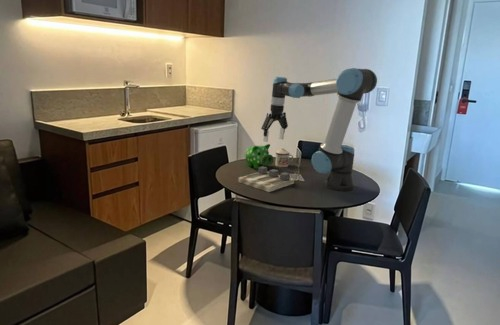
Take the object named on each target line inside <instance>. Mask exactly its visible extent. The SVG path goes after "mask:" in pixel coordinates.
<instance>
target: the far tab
mask: <svg viewBox="0 0 500 325" xmlns="http://www.w3.org/2000/svg"><path fill="white" fill-rule="evenodd" d="M267 172H268V167H267V166H266V167H264V166H262V167H261V166H260V167H258V169H257V173H261V174H265V173H267Z"/></svg>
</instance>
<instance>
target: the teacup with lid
mask: <svg viewBox="0 0 500 325" xmlns="http://www.w3.org/2000/svg"><path fill="white" fill-rule="evenodd" d="M290 157H291V159H290ZM293 160H294V155H292V154H291V153H290V151H288V150H286V149H285V148H284V147H281V149H279V150H276V151H275V163H274V164H275V167H278V168H288V167H289V163H291V162H292V161H293Z"/></svg>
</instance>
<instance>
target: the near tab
mask: <svg viewBox="0 0 500 325" xmlns="http://www.w3.org/2000/svg"><path fill="white" fill-rule="evenodd" d="M290 174H291V173H288V172H281V173H280V174H279V175H280V179H281V180H288V179H289V178H291V177H290V176H291V175H290Z"/></svg>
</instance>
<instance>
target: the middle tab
mask: <svg viewBox="0 0 500 325" xmlns="http://www.w3.org/2000/svg"><path fill="white" fill-rule="evenodd" d="M268 172H269V176H271V177H276V176H278V175H279V170H278V169H269V171H268Z"/></svg>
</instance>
